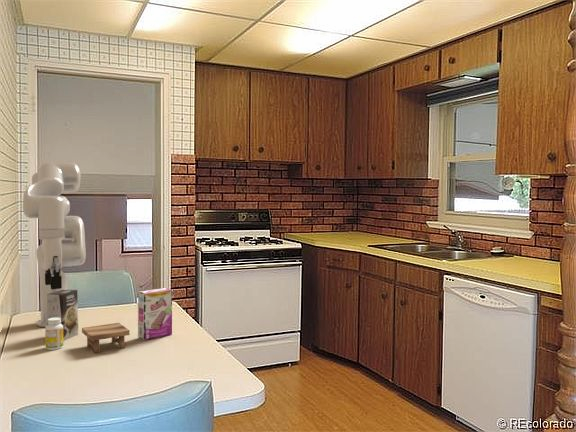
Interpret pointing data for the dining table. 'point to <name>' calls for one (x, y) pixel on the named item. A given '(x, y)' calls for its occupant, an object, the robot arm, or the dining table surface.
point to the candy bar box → (154, 313)
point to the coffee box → (64, 310)
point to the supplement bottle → (54, 334)
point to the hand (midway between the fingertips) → (53, 286)
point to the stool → (105, 335)
